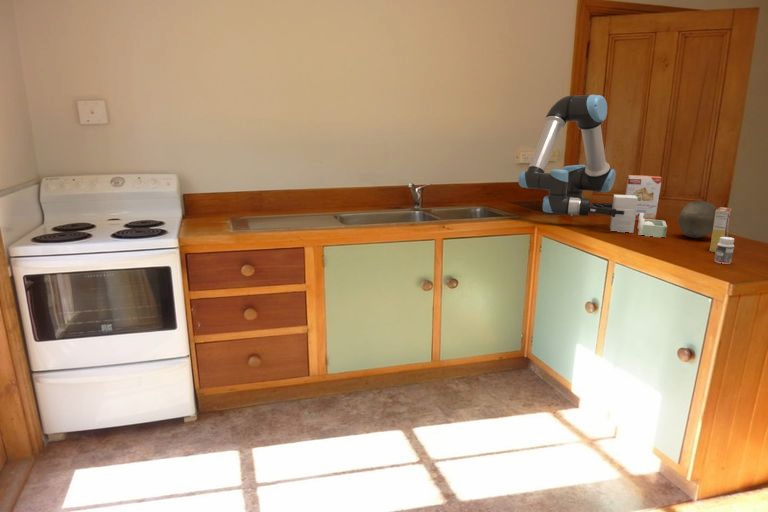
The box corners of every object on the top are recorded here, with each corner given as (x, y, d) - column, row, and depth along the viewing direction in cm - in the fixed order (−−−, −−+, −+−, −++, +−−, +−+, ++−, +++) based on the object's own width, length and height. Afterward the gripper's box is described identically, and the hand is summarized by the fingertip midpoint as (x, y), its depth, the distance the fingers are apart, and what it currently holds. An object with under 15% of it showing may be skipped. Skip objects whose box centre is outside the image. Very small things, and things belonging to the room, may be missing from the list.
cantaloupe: (668, 234, 211) (674, 198, 207) (702, 234, 211) (709, 199, 207) (686, 242, 197) (693, 204, 194) (723, 242, 197) (730, 204, 193)
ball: (656, 227, 214) (644, 233, 216) (649, 217, 213) (638, 223, 215) (657, 231, 209) (645, 237, 212) (651, 221, 209) (639, 227, 211)
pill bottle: (710, 260, 171) (715, 236, 169) (724, 260, 172) (728, 236, 169) (720, 264, 167) (725, 239, 165) (734, 264, 167) (739, 239, 165)
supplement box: (631, 229, 220) (636, 195, 216) (633, 233, 212) (638, 197, 208) (609, 227, 223) (613, 193, 219) (610, 231, 215) (614, 196, 211)
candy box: (712, 247, 190) (719, 206, 186) (725, 248, 187) (733, 208, 183) (708, 251, 183) (715, 209, 180) (722, 253, 181) (729, 211, 177)
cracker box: (622, 219, 242) (628, 175, 236) (622, 217, 247) (627, 174, 242) (655, 222, 237) (662, 177, 231) (654, 220, 242) (660, 176, 237)
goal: (637, 228, 222) (639, 212, 220) (663, 230, 218) (665, 214, 216) (638, 235, 208) (640, 218, 206) (665, 238, 204) (668, 220, 202)
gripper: (580, 210, 235) (631, 214, 226) (576, 219, 213) (632, 224, 204) (582, 194, 233) (633, 198, 224) (578, 202, 211) (634, 206, 202)
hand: (633, 210), depth 214 cm, fingers open, 13 cm apart
